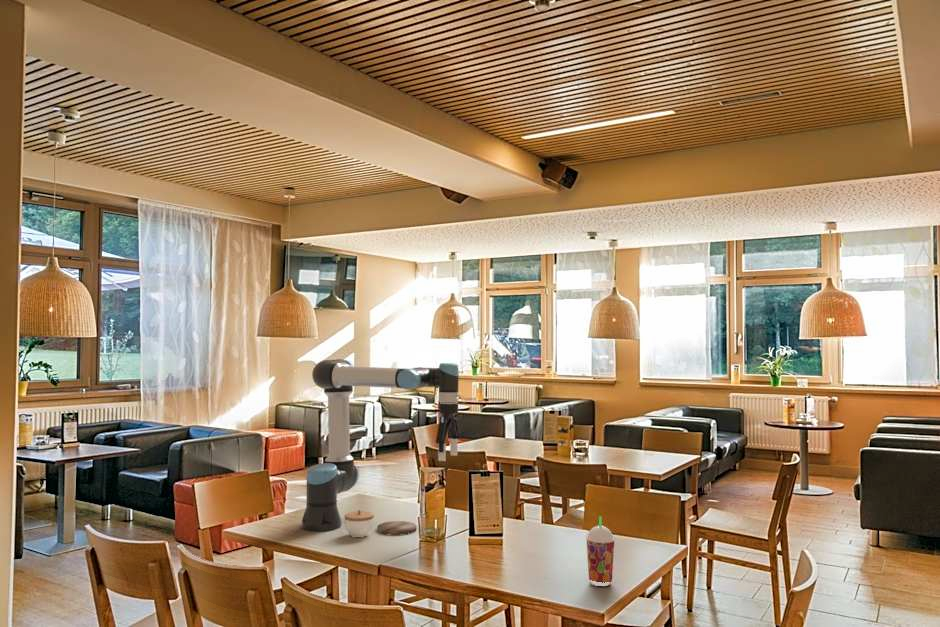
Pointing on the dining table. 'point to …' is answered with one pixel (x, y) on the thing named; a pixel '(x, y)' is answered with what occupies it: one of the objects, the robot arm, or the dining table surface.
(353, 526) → the lidded jar
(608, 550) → the smoothie
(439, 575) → the dining table surface
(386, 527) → the stand
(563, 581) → the dining table surface
